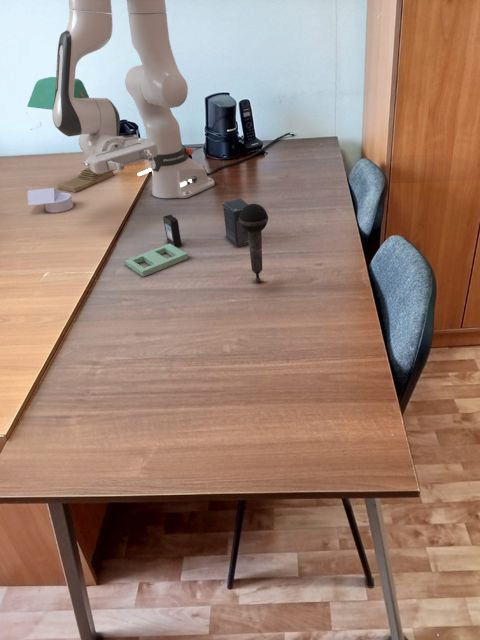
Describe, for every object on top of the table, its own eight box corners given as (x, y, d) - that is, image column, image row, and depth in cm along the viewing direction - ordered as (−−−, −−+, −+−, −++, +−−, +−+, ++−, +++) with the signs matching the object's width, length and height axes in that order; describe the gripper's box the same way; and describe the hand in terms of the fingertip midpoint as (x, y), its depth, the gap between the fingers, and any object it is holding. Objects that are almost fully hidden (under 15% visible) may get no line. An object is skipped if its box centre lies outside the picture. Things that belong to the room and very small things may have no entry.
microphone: (243, 276, 134) (236, 200, 122) (270, 274, 135) (266, 197, 123) (245, 290, 129) (238, 212, 117) (273, 287, 129) (269, 209, 117)
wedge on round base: (31, 215, 175) (71, 211, 176) (24, 195, 171) (65, 191, 172) (36, 204, 182) (75, 201, 183) (30, 185, 178) (69, 181, 179)
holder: (170, 248, 150) (169, 243, 149) (188, 258, 144) (187, 253, 143) (126, 265, 143) (125, 260, 142) (143, 276, 137) (142, 271, 136)
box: (255, 242, 150) (252, 206, 143) (236, 247, 148) (233, 211, 141) (243, 232, 155) (240, 197, 149) (225, 237, 153) (222, 202, 147)
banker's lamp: (121, 176, 201) (98, 73, 180) (79, 195, 187) (49, 86, 166) (92, 170, 208) (67, 71, 187) (49, 188, 194) (18, 83, 173)
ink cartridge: (166, 242, 153) (162, 215, 148) (174, 239, 154) (169, 213, 149) (174, 248, 150) (170, 221, 145) (181, 245, 151) (177, 219, 146)
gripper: (77, 151, 149) (99, 161, 140) (140, 133, 159) (165, 141, 150) (83, 173, 153) (105, 184, 144) (144, 154, 163) (169, 163, 154)
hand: (136, 162), depth 147 cm, fingers open, 8 cm apart
